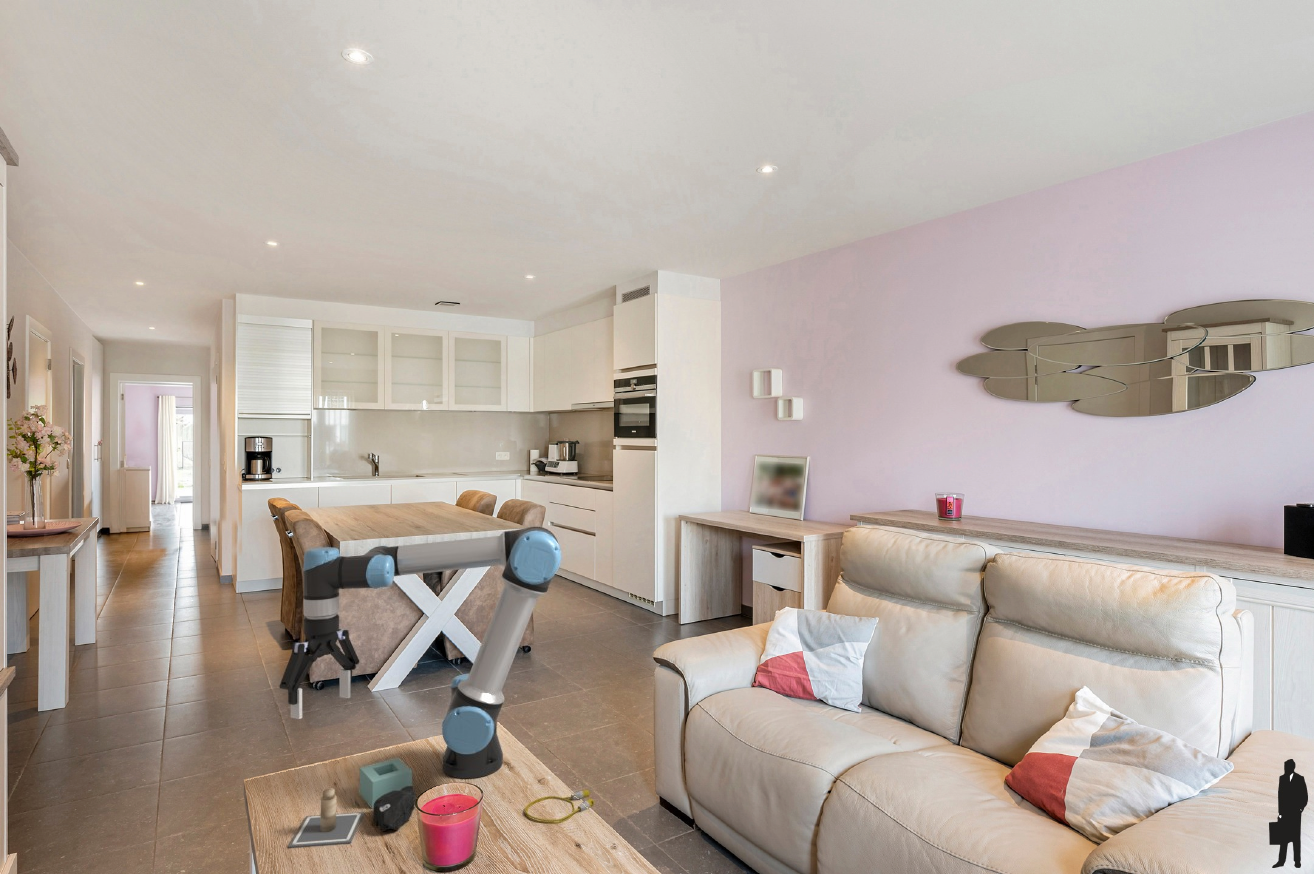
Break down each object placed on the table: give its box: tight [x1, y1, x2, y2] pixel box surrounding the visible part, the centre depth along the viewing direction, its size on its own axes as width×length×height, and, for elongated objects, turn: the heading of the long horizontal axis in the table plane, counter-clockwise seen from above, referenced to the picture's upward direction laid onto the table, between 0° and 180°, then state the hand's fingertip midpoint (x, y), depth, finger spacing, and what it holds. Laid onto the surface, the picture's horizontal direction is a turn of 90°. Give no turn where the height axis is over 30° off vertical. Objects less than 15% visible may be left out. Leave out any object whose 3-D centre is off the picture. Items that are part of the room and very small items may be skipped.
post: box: [319, 787, 337, 832], centre depth 151 cm, size 3×3×8 cm
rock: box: [372, 785, 417, 832], centre depth 155 cm, size 10×9×6 cm
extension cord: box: [524, 789, 595, 824], centre depth 161 cm, size 12×16×2 cm
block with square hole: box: [358, 757, 413, 810], centre depth 166 cm, size 9×9×6 cm
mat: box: [287, 811, 365, 849], centre depth 151 cm, size 12×12×1 cm
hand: (321, 707), depth 164 cm, fingers open, 13 cm apart
